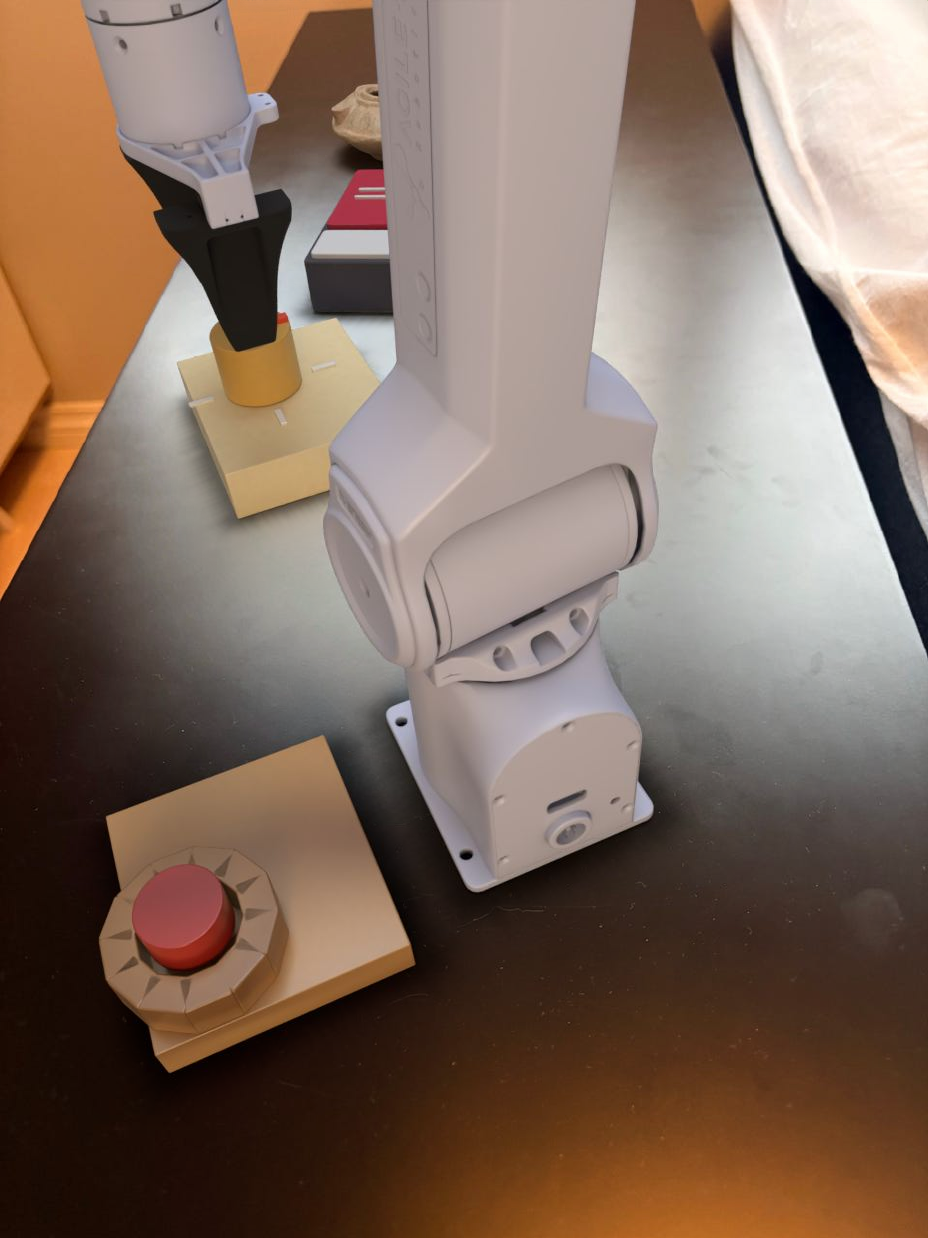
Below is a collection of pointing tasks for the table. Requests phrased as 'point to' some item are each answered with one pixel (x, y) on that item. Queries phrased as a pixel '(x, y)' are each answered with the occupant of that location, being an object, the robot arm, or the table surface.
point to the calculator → (353, 251)
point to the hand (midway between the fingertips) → (235, 308)
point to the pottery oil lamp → (360, 120)
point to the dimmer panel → (281, 420)
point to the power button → (184, 917)
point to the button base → (254, 902)
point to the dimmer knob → (258, 367)
